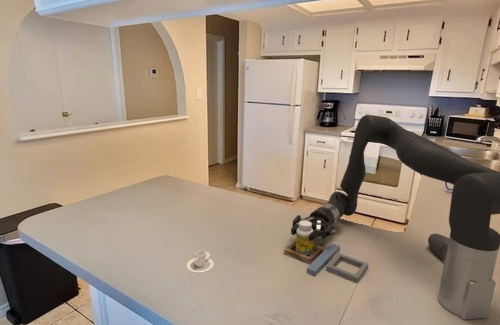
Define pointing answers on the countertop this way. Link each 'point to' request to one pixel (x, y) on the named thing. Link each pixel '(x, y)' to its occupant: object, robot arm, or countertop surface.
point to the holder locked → (299, 256)
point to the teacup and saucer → (200, 261)
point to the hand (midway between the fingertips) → (301, 235)
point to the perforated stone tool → (438, 244)
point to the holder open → (345, 274)
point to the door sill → (323, 259)
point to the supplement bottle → (304, 238)
